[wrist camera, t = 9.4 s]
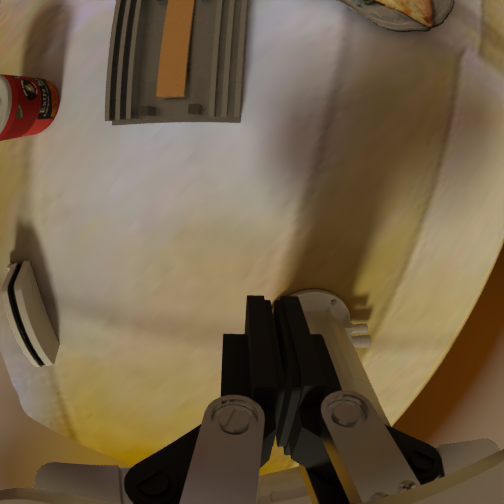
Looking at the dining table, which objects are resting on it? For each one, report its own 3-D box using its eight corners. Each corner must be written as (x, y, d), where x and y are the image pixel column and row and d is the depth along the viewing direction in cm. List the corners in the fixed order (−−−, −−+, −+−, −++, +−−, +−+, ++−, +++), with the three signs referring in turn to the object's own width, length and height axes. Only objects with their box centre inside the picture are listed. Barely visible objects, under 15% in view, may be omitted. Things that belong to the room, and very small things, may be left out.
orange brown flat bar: (195, -3, 23) (194, -5, 22) (185, 97, 27) (183, 95, 26) (170, -1, 23) (168, -4, 22) (157, 98, 27) (156, 96, 26)
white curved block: (9, 260, 37) (-12, 289, 29) (32, 255, 39) (14, 284, 30) (39, 343, 44) (31, 380, 35) (61, 340, 45) (55, 377, 37)
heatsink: (248, -7, 26) (250, -28, 20) (240, 122, 32) (240, 122, 27) (133, -1, 25) (117, -18, 19) (121, 124, 31) (101, 125, 26)
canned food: (68, 115, 30) (15, 117, 20) (27, 145, 31) (-26, 158, 21) (52, 67, 27) (0, 58, 17) (12, 100, 28) (-40, 103, 18)
